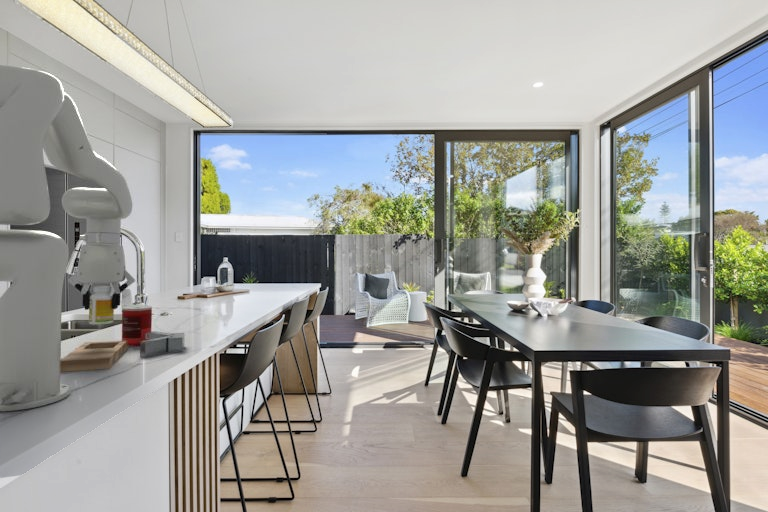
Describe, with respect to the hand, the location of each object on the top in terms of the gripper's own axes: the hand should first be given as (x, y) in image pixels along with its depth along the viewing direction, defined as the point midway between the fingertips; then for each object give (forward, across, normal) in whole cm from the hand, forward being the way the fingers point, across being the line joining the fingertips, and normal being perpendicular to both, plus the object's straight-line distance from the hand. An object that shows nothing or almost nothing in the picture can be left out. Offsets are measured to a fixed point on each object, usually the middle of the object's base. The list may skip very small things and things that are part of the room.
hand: (101, 308), depth 111 cm
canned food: (+12, +6, +14) cm, 19 cm away
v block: (+12, +15, +3) cm, 19 cm away
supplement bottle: (+4, 0, 0) cm, 4 cm away
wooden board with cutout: (+13, 0, -4) cm, 13 cm away
